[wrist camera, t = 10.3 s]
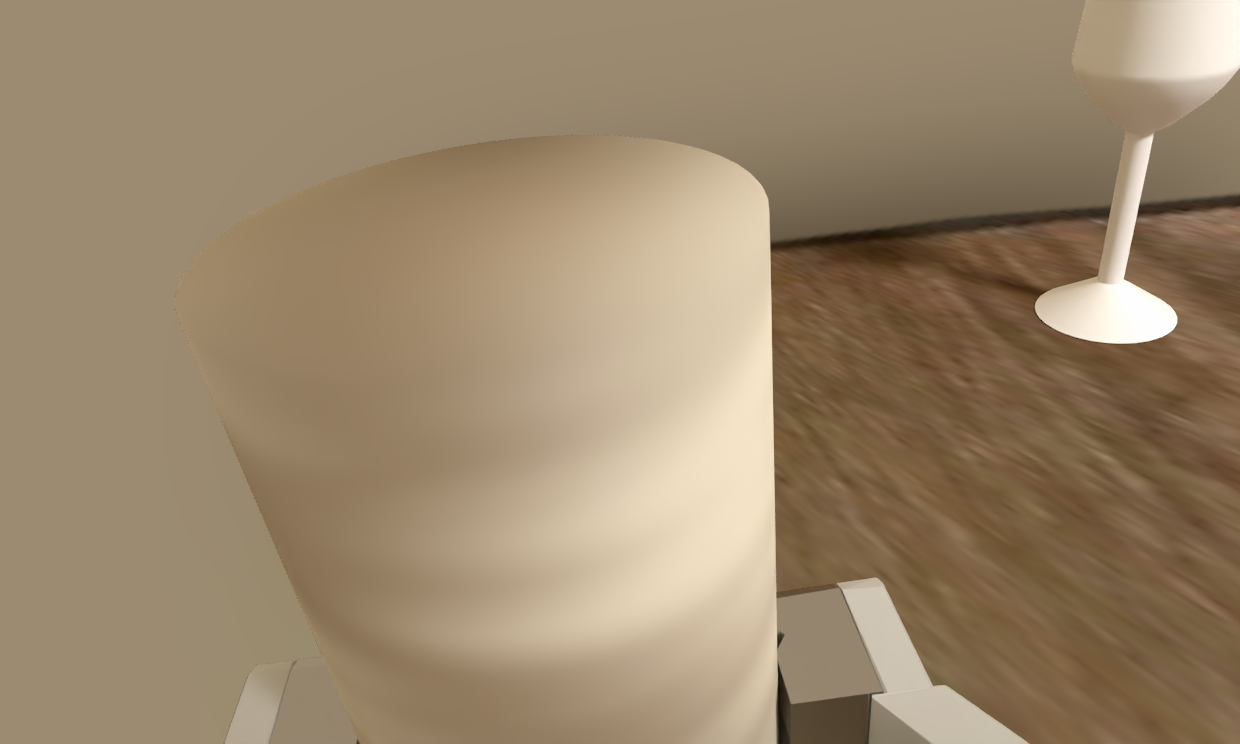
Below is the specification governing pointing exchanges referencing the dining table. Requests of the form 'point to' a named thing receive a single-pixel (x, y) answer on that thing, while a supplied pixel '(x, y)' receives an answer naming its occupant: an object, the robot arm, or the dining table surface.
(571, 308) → the peg
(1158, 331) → the champagne flute
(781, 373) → the dining table surface
